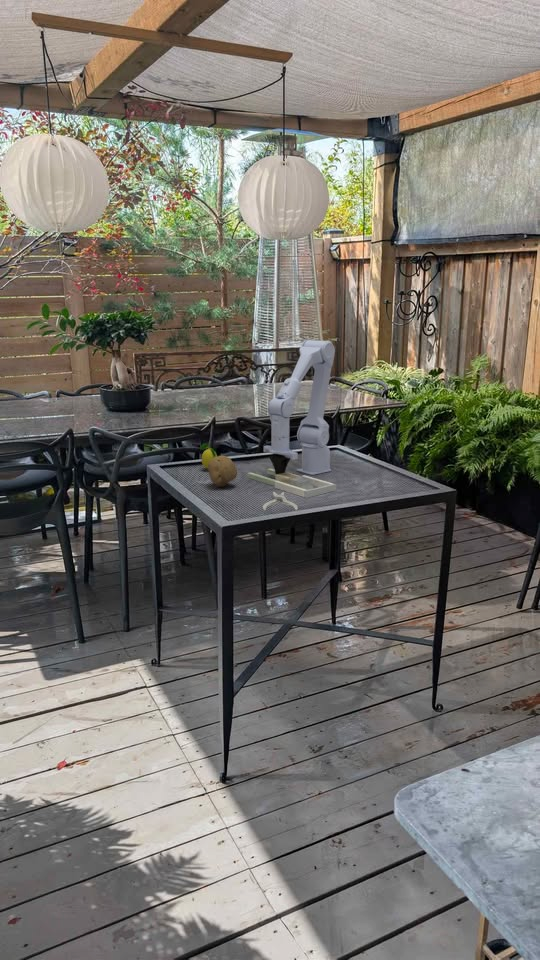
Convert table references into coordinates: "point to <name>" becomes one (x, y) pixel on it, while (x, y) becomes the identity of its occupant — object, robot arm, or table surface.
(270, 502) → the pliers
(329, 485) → the tray
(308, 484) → the aluminium block
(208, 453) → the lemon
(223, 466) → the brown potato
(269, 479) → the slot rails
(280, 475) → the ash block
